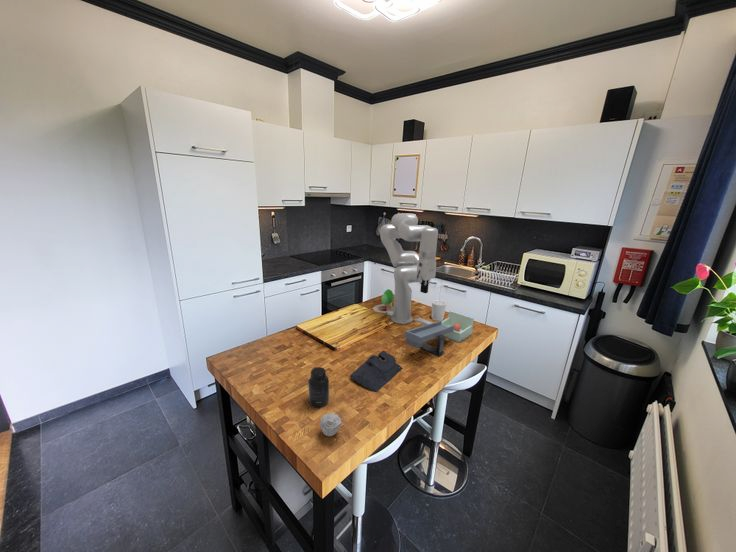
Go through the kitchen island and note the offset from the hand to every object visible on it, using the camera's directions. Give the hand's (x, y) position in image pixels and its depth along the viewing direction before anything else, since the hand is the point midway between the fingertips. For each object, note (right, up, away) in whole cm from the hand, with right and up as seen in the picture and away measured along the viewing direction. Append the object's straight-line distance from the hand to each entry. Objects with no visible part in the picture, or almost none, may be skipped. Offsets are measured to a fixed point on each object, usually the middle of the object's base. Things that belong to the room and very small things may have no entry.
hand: (424, 292), depth 137 cm
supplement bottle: (-44, -36, -38) cm, 68 cm away
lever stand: (+2, -27, -4) cm, 27 cm away
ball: (+20, -19, +13) cm, 31 cm away
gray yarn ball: (-38, -40, -52) cm, 75 cm away
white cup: (+14, -17, +30) cm, 37 cm away
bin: (+18, -22, +12) cm, 31 cm away
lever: (-1, -20, -3) cm, 21 cm away
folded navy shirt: (-24, -32, -21) cm, 45 cm away
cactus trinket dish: (-17, -13, +43) cm, 48 cm away
